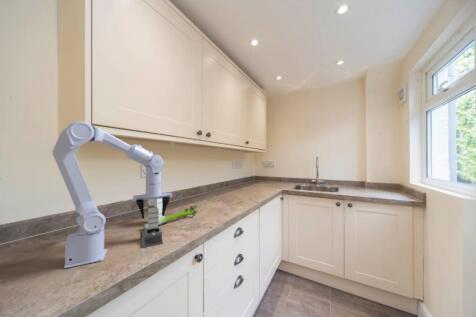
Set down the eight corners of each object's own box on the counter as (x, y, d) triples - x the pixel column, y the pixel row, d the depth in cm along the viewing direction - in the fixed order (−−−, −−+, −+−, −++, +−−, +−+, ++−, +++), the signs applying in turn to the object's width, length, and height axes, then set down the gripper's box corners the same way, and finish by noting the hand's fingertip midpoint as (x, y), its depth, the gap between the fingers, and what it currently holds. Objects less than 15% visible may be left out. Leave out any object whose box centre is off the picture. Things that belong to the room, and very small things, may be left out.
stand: (142, 248, 67) (142, 236, 67) (142, 232, 82) (142, 222, 82) (162, 243, 70) (162, 233, 70) (159, 229, 85) (159, 220, 85)
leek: (140, 231, 86) (192, 212, 109) (147, 238, 82) (199, 216, 105) (140, 219, 85) (193, 202, 108) (147, 226, 81) (200, 207, 104)
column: (148, 229, 72) (148, 210, 72) (148, 226, 76) (148, 208, 76) (158, 227, 74) (158, 209, 74) (157, 225, 77) (158, 207, 77)
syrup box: (165, 221, 96) (165, 193, 96) (157, 225, 90) (157, 195, 90) (156, 220, 97) (155, 193, 97) (147, 224, 92) (147, 195, 92)
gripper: (170, 181, 82) (170, 212, 82) (133, 183, 75) (133, 216, 75) (173, 183, 76) (172, 216, 75) (132, 185, 69) (132, 221, 69)
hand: (153, 216), depth 75 cm, fingers open, 7 cm apart
